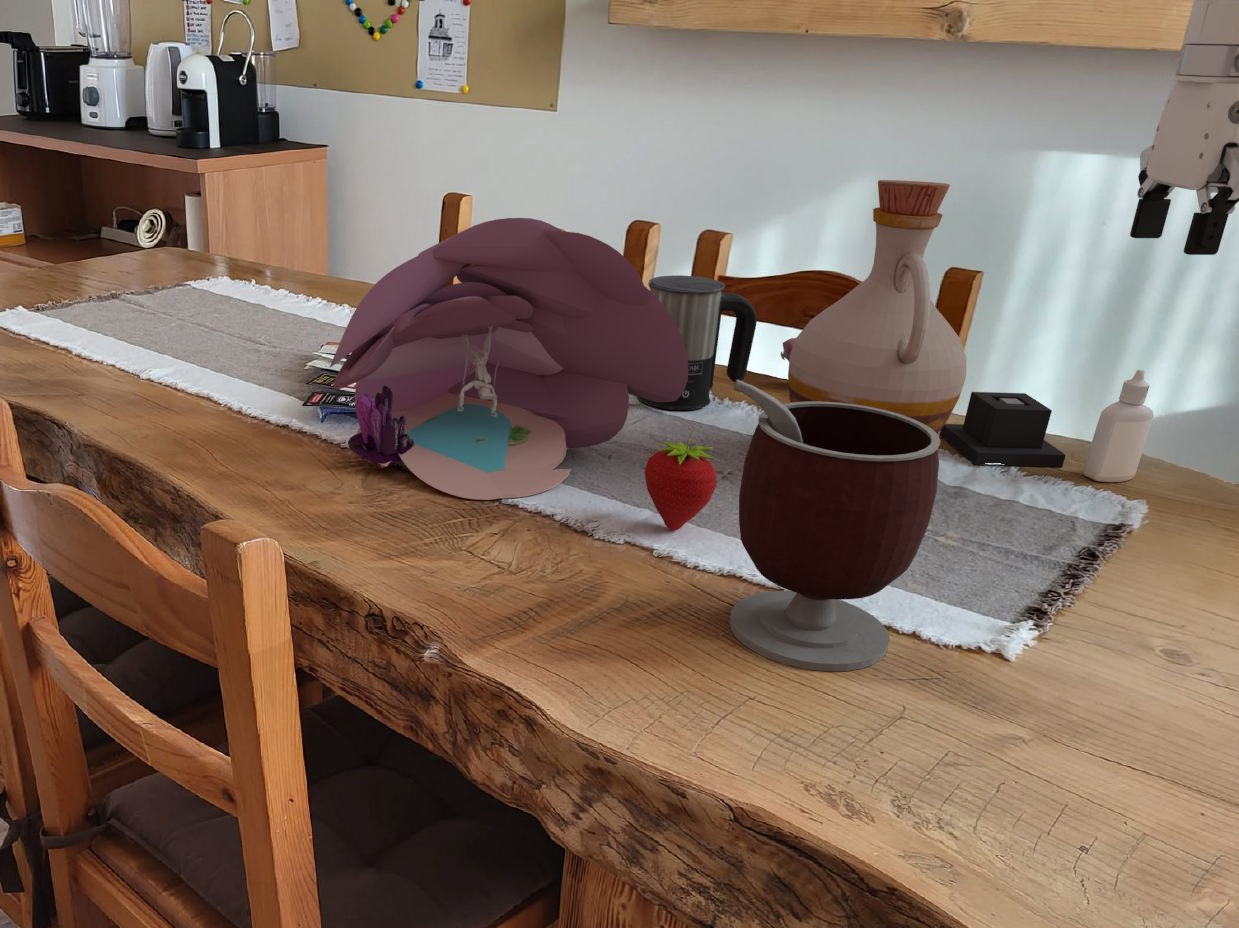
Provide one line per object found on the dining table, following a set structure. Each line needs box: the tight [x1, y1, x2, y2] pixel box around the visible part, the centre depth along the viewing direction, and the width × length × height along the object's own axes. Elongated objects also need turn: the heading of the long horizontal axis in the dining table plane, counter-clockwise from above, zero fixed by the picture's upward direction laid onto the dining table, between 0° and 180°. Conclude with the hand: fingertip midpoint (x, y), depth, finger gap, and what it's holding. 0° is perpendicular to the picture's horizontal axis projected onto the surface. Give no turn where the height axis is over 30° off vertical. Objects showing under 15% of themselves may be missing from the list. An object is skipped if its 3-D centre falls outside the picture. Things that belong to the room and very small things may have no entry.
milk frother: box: [636, 274, 758, 411], centre depth 148 cm, size 14×16×15 cm
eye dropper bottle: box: [1082, 369, 1154, 483], centre depth 126 cm, size 4×6×12 cm
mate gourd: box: [729, 380, 941, 672], centre depth 89 cm, size 16×14×20 cm
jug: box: [787, 179, 967, 435], centre depth 121 cm, size 20×18×30 cm
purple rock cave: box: [329, 217, 688, 501], centre depth 119 cm, size 35×24×28 cm
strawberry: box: [644, 427, 718, 531], centre depth 109 cm, size 6×8×10 cm
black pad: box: [963, 391, 1053, 448], centre depth 133 cm, size 6×6×4 cm
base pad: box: [939, 398, 1067, 468], centre depth 134 cm, size 10×10×6 cm
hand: (1171, 245), depth 122 cm, fingers open, 9 cm apart
